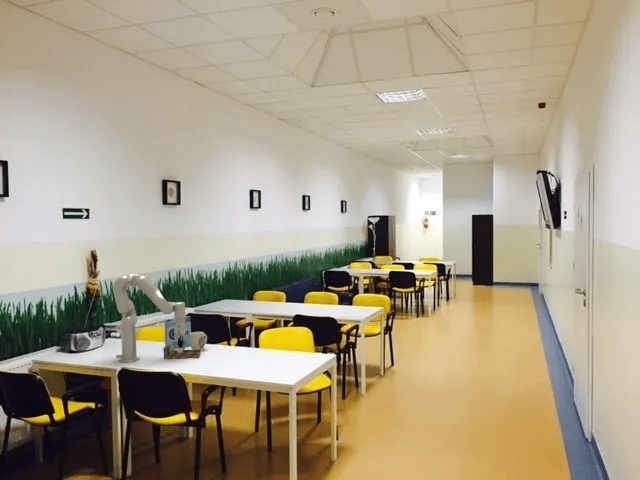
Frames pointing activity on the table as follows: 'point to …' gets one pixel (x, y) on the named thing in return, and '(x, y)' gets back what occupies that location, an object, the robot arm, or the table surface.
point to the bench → (174, 355)
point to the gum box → (171, 333)
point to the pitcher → (197, 340)
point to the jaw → (181, 348)
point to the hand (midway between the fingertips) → (180, 345)
